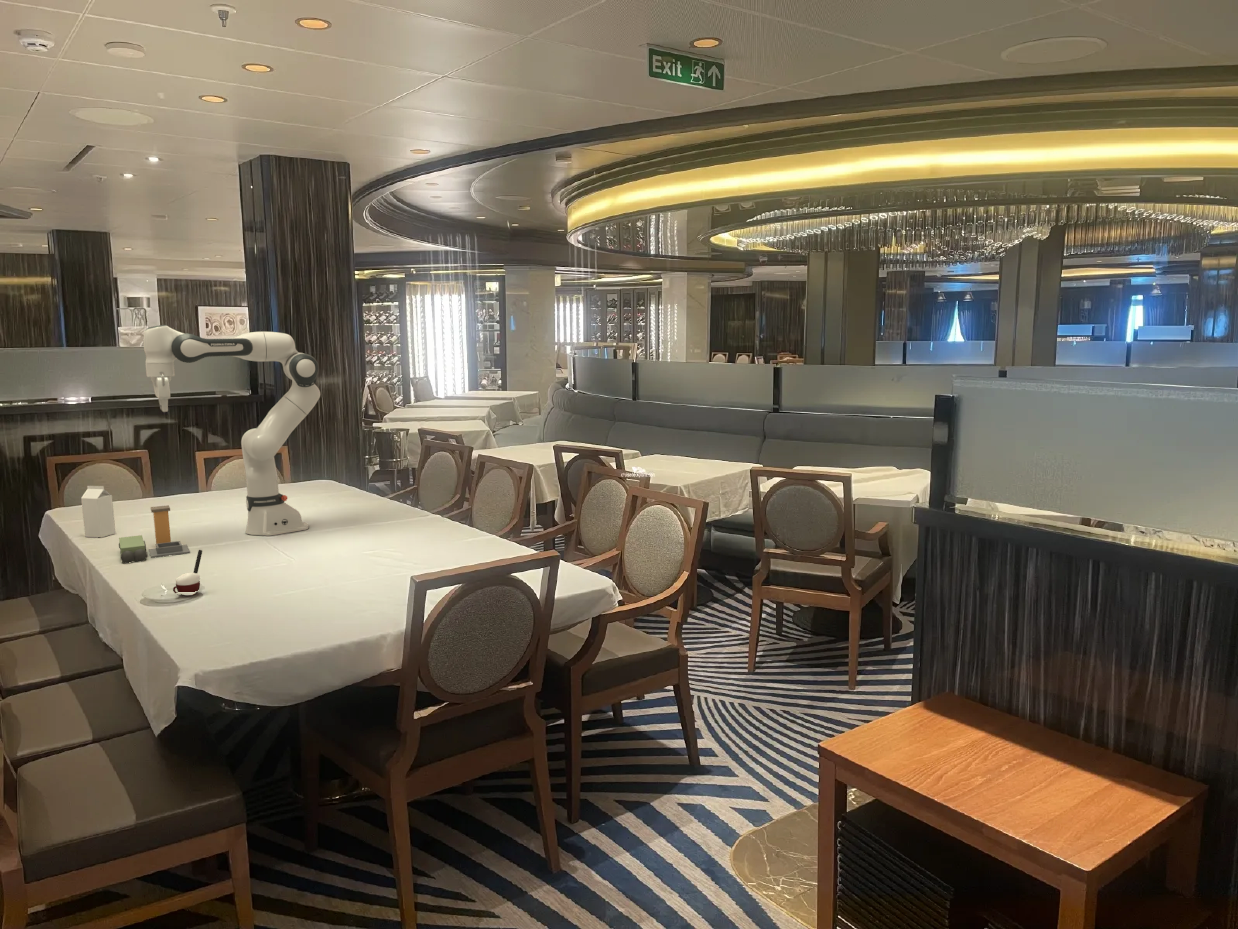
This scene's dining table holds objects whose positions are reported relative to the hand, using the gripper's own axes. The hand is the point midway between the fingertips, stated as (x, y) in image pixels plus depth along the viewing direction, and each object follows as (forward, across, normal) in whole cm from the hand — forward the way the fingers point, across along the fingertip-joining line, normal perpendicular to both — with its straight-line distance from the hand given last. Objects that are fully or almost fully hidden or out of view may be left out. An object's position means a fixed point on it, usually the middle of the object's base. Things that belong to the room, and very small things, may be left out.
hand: (164, 410), depth 306 cm
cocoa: (+48, -74, +2) cm, 88 cm away
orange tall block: (+48, -4, +4) cm, 48 cm away
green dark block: (+48, -14, +14) cm, 52 cm away
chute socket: (+48, -15, +3) cm, 50 cm away
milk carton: (+48, +28, +24) cm, 60 cm away
